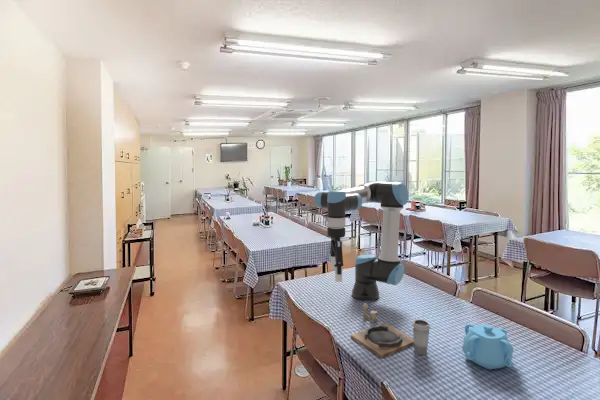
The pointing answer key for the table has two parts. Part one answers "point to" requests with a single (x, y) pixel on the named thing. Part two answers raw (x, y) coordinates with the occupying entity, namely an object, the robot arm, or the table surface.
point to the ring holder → (383, 339)
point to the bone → (372, 313)
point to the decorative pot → (487, 346)
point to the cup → (420, 336)
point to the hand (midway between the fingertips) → (336, 276)
